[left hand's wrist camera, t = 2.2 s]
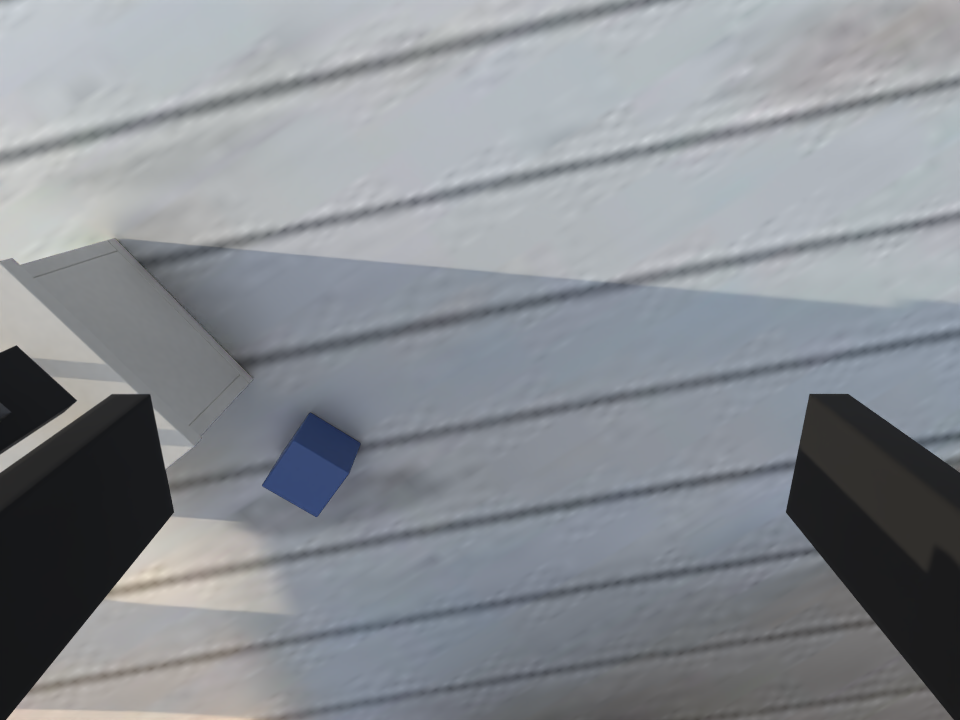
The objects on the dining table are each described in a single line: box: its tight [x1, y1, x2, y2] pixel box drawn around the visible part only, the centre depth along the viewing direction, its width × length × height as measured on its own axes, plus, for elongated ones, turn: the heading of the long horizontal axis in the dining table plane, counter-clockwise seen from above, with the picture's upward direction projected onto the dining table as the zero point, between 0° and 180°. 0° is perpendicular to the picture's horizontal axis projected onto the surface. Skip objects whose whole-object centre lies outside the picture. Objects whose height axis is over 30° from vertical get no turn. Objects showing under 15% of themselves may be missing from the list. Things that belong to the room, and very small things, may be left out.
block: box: [262, 413, 360, 517], centre depth 42 cm, size 4×4×4 cm
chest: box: [20, 238, 253, 436], centre depth 38 cm, size 17×12×10 cm
